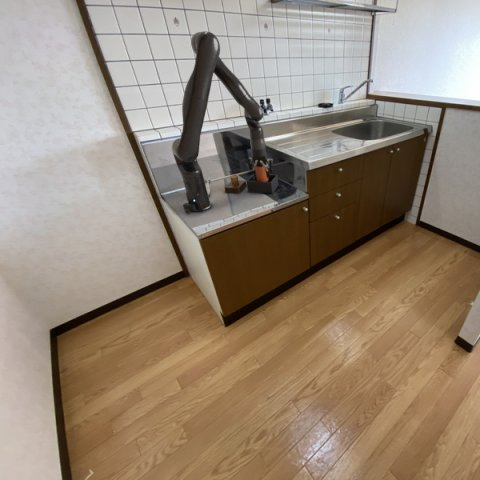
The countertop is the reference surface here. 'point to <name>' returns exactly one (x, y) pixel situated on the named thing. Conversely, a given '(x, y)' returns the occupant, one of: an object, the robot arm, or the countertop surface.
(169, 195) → the countertop surface
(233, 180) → the tap knob
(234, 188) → the tap block
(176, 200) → the countertop surface
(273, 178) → the basin
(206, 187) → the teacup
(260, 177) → the cup
